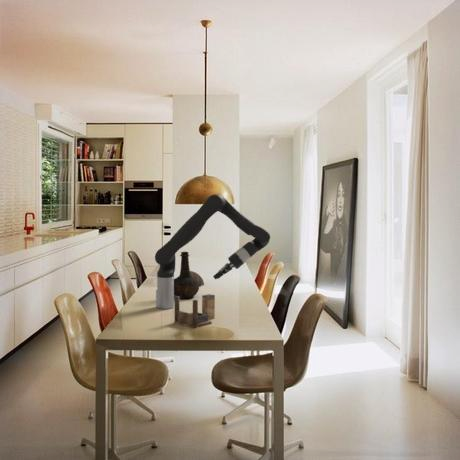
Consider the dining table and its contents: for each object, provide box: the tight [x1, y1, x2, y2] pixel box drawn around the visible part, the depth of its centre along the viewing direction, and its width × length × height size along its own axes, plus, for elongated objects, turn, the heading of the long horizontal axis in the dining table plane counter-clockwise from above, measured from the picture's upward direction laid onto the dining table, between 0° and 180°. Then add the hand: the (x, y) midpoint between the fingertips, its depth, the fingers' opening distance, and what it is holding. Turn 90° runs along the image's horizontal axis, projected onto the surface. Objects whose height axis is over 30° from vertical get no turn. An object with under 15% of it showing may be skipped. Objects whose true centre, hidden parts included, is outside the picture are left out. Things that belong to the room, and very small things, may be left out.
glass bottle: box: [174, 251, 200, 299], centre depth 331 cm, size 18×18×28 cm
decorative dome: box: [190, 270, 205, 288], centre depth 375 cm, size 19×20×10 cm
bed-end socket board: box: [173, 295, 213, 329], centre depth 264 cm, size 15×12×13 cm
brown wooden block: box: [201, 293, 216, 321], centre depth 275 cm, size 4×5×12 cm
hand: (215, 277), depth 277 cm, fingers open, 8 cm apart
